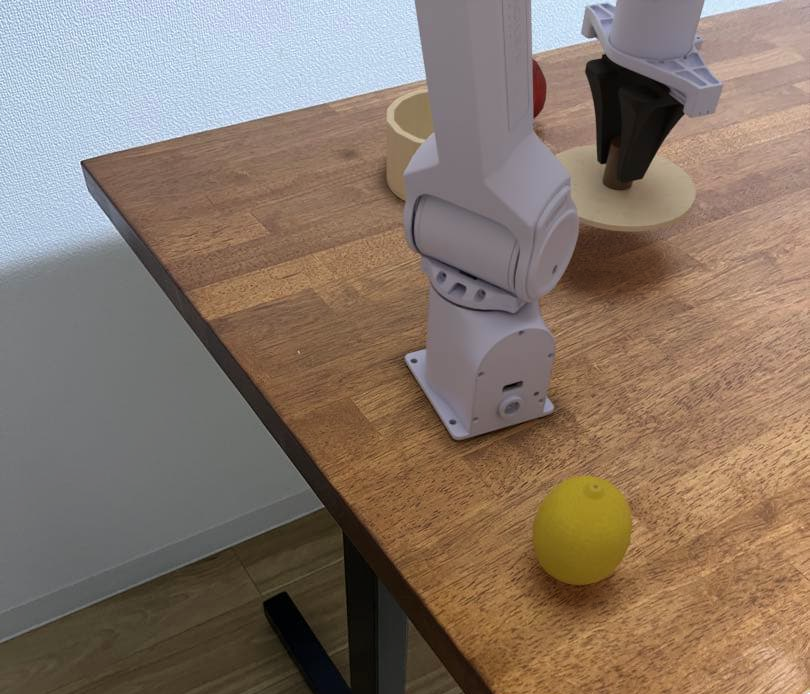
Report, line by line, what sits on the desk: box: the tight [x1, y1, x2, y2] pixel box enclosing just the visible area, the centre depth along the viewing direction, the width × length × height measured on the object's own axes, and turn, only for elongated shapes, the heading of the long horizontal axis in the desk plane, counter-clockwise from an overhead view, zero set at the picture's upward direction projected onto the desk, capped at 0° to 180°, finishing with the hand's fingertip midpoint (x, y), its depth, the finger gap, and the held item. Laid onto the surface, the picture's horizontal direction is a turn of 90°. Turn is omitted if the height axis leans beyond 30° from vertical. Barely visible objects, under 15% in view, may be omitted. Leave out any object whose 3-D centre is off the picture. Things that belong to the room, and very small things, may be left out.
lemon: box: [531, 475, 633, 586], centre depth 47 cm, size 6×6×8 cm
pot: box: [386, 87, 434, 202], centre depth 75 cm, size 11×11×6 cm
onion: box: [532, 57, 548, 120], centre depth 80 cm, size 6×6×8 cm
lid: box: [554, 136, 697, 233], centre depth 64 cm, size 12×12×4 cm
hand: (620, 169), depth 64 cm, fingers closed on lid, 2 cm apart
